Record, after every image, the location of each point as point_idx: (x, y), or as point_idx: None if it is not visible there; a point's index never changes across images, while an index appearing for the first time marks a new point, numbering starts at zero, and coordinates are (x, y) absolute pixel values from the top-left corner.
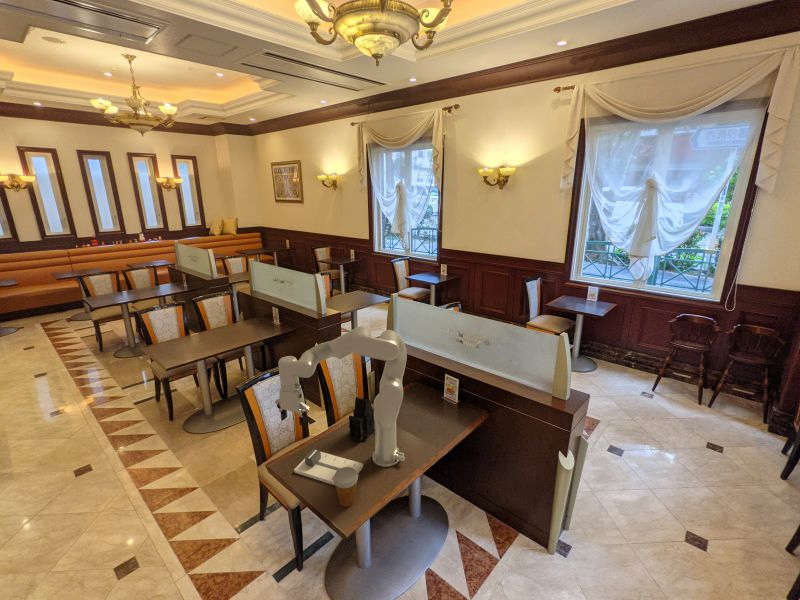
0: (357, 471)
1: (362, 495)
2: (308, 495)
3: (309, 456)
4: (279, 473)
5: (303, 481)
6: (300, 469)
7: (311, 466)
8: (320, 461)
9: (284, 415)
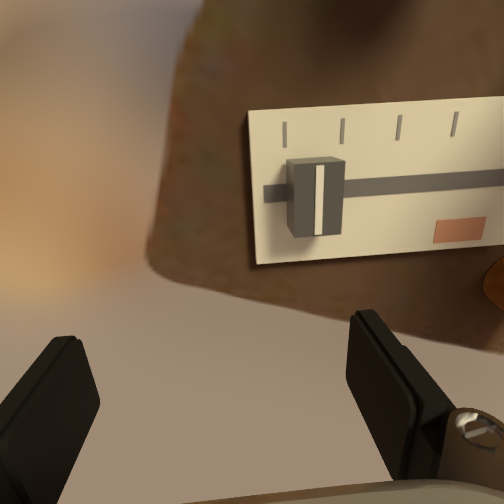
0: None
1: None
2: None
3: (312, 222)
4: (204, 286)
5: (319, 277)
6: (281, 252)
7: None
8: None
9: (70, 420)
